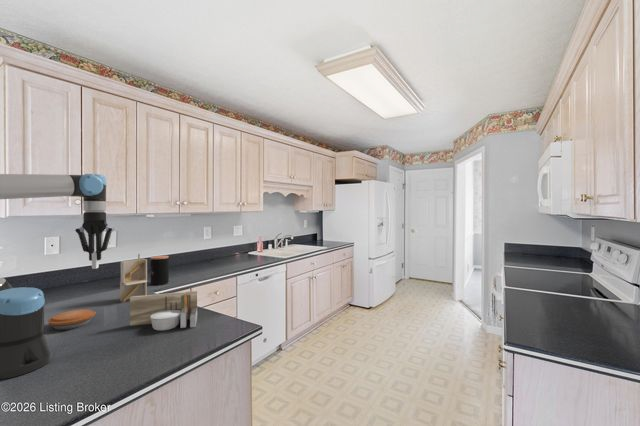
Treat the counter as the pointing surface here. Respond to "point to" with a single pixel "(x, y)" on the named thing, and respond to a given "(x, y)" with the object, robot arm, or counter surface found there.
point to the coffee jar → (159, 270)
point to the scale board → (159, 305)
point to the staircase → (133, 278)
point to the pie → (71, 319)
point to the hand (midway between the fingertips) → (95, 268)
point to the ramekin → (165, 319)
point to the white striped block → (193, 317)
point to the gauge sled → (184, 313)
